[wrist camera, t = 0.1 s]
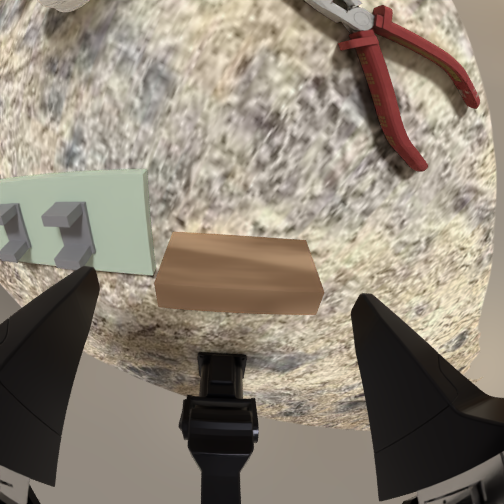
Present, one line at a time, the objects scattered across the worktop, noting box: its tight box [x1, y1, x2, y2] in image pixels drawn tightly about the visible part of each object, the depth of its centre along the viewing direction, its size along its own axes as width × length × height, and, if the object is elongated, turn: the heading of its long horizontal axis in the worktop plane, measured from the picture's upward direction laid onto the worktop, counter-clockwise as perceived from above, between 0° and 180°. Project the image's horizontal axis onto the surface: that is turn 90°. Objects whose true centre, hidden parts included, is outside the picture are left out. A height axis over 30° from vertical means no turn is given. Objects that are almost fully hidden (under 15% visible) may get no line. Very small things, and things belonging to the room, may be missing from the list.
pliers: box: [304, 0, 480, 172], centre depth 14 cm, size 12×20×3 cm, turn 53°
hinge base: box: [0, 169, 156, 275], centre depth 20 cm, size 10×24×4 cm, turn 84°
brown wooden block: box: [154, 232, 324, 315], centre depth 22 cm, size 2×12×7 cm, turn 84°
